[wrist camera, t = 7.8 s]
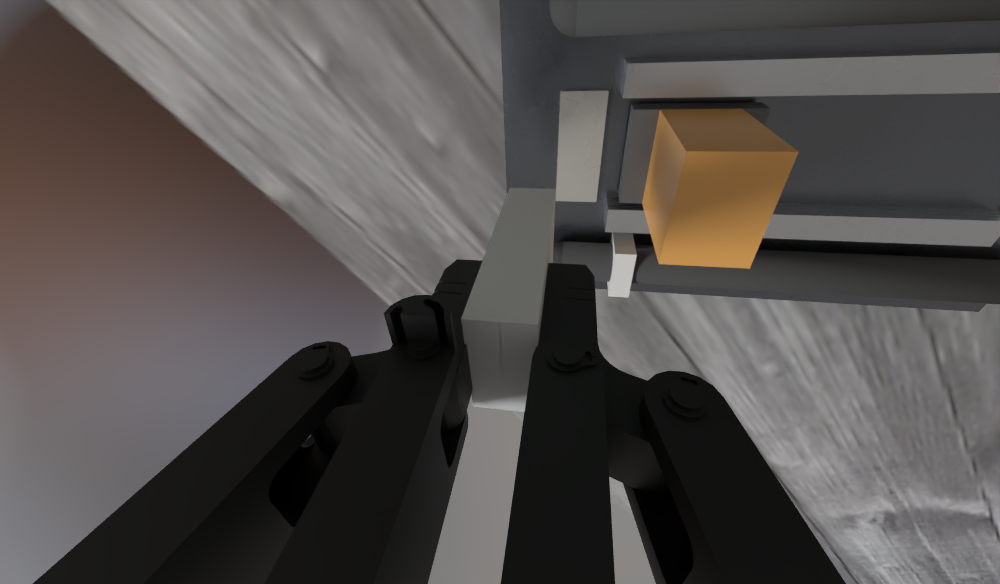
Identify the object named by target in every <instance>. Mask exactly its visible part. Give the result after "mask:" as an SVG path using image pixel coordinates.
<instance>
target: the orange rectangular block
mask: <svg viewBox="0 0 1000 584" xmlns="http://www.w3.org/2000/svg"><path fill="white" fill-rule="evenodd" d="M770 110H771V108H770V107H768V106H767V105H765V104H763V103H762V102H740V103H661V104H631V109H630V115H629V122H628V129H627V136H626V143H625V149H624V156H623V163H622V170H621V177H620V184H619V190H618V197H619V203H641V204H642V205H643V209H644V212H645V216H646V220H647V223H648V227H649V230H650V234H651V238H652V241H653V245H654V249H655V252H656V256H657V260H658V263H659V264H666V265H686V266H706V267H726V268H746V269H750V267H751V265H752V262H753V260H754V257H755V255H756V253H757V250H758V248H759V245H760V243H761V241H762V238H763V236H764V234H765V231H766V229H767V226H768V224H769V222H770V219H771V217H772V214H773V212H774V210H775V207H776V205H777V203H778V200H779V198H780V195H781V193H782V191H783V188H784V186H785V183H786V181H787V179H788V176H789V174H790V172H791V169H792V167H793V164H794V162H795V160H796V157H797V155H798V153H799V152H798V151H797V150H796V149H794V148H793V147H792V146H790V145H789V144H788V143H786V142H785V141H784V140H782V139H781V138H780V137H779V136H777V135H776V134H775V133H773V132H772V131H771V130H769V129H768V128H767V127H766V126H765V124H766V121H767V118H768V115H769V112H770Z"/></svg>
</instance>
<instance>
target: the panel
mask: <svg viewBox="0 0 1000 584" xmlns="http://www.w3.org/2000/svg"><path fill="white" fill-rule="evenodd" d="M500 22H501V48H502V74H503V100H504V126H505V152H506V178H507V194H508V191H509V188H540V189H556V197H555V220H554V243H556V242H561V241H567V242H591V243H611V237H612V232H617V233H633V238H634V243H635V244H638V245H653V241H652V238H651V234H650V230H649V227H648V223H647V220H646V216H645V212H644V209H643V205H642V204H641V203H619V197H618V190H619V184H620V177H621V170H622V163H623V156H624V149H625V143H626V136H627V129H628V122H629V115H630V109H631V104H661V103H740V102H762V103H763V104H765V105H767V106H768V107H770V108H771V110H770V112H769V115H768V118H767V121H766V124H765V126H766V127H767V128H768V129H769V130H771V131H772V132H773V133H775V134H776V135H777V136H779V137H780V138H781V139H782V140H784V141H785V142H786V143H788V144H789V145H790V146H792V147H793V148H794V149H796V150H797V151H798V152H799V153H798V155H797V157H796V160H795V162H794V164H793V167H792V169H791V172H790V174H789V176H788V179H787V181H786V183H785V186H784V188H783V191H782V193H781V195H780V198H779V200H778V203H777V205H776V207H775V210H774V212H773V214H772V217H771V219H770V222H769V224H768V226H767V229H766V231H765V234H764V236H763V238H762V241H761V243H760V245H759V248H758V250H779V251H803V252H826V253H850V254H874V255H897V256H921V257H944V258H968V259H991V260H1000V20H989V21H964V22H939V23H914V24H888V25H863V26H838V27H813V28H788V29H763V30H738V31H713V32H688V33H663V34H638V35H612V36H587V37H570V36H567V35H565V34H563V33H561V32H560V31H559V30H558V29H557V28H556V26H555V25H554V23H553V21H552V19H551V15H550V0H500ZM554 243H553V244H554ZM595 288H596V289H608V285H607V282H605V281H595ZM630 291H645V292H662V293H678V294H695V295H711V296H728V297H744V298H761V299H777V300H794V301H810V302H827V303H843V304H860V305H876V306H893V307H909V308H926V309H942V310H959V311H975V312H979V311H980V310H981V309H982V308H983V307H984V306H985V304H986V303H970V302H952V301H935V300H918V299H900V298H883V297H866V296H848V295H831V294H814V293H796V292H779V291H762V290H744V289H727V288H710V287H692V286H675V285H658V284H640V283H631V287H630Z"/></svg>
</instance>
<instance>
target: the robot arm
mask: <svg viewBox="0 0 1000 584" xmlns="http://www.w3.org/2000/svg"><path fill="white" fill-rule="evenodd" d="M555 197H556V189H540V188H509V191H508V194H507V196H506V199H505V202H504V205H503V207H502V210H501V213H500V215H499V218H498V221H497V223H496V226H495V229H494V232H493V234H492V237H491V240H490V242H489V245H488V248H487V250H486V253H485V256H484V259H483V261H477V260H458V259H457V260H456V261H455V262H454V263H452V264H451V265H450V266H449V267H447V268H446V269H445V271H444V273H443V275H442V277H441V279H440V281H439V283H438V285H437V287H436V289H435V292H434V293H433V295H432V296H431V295H415V296H411V297H408V298H404V299H401V300H400V301H398V302H396V303H395V304H393V305H391V306H390V307H389V309H387V311H386V312H385V313H384V316H385V319H386V323H387V326H388V330H389V333H390V336H391V340H392V343H393V345H392V347H391V349H389V350H386V351H382V352H378V353H372V354H365V355H360V356H353V357H351V354H350V352H349V350H348V348H347V347H346V346H344V345H342V344H341V343H337V342H329V341H327V342H321V343H315V344H313V345H310V346H308V347H305V348H303V349H301V350H300V351H299V352H297V353H296V354H294V355H292V356H291V357H290V358H289V359H288V360H286V361H285V362H284V363H283V364H282V365H281V366H280V367H279V368H277V369H276V370H275V371H274V372H273V373H272V374H271V375H269V376H268V377H267V378H266V379H265V380H264V381H263V382H262V383H260V384H259V385H258V386H257V387H256V388H255V389H253V391H251V392H250V393H249V394H248V395H247V396H246V397H244V398H243V399H242V400H241V401H240V402H239V403H238V404H236V405H235V406H234V407H233V408H232V409H231V410H230V411H228V412H227V413H226V414H225V415H224V416H223V417H222V418H221V419H219V420H218V421H217V422H216V423H215V424H214V425H213V426H211V428H209V429H208V430H207V431H206V432H205V433H203V435H201V436H200V437H199V438H198V439H197V440H196V441H194V442H193V443H192V444H191V445H190V446H189V447H188V448H187V449H186V450H184V451H183V452H182V453H181V454H180V455H179V456H177V457H176V458H175V459H174V460H173V461H172V462H171V463H170V464H168V465H167V466H166V467H165V468H164V469H163V470H162V471H160V472H159V473H158V474H157V475H156V476H155V477H154V478H152V479H151V480H150V481H149V482H148V483H147V484H146V485H145V486H143V487H142V488H141V489H140V490H139V491H138V492H136V493H135V494H134V495H133V496H132V497H131V498H130V499H128V500H127V501H126V502H125V503H124V504H123V505H122V506H121V507H119V508H118V509H117V510H116V511H115V512H114V513H113V514H111V515H110V516H109V517H108V518H107V519H106V520H105V521H103V522H102V523H101V524H100V525H99V526H98V527H97V528H96V529H94V531H92V532H91V533H90V534H89V535H88V536H87V537H85V538H84V539H83V540H82V541H81V542H80V543H78V544H77V545H76V546H75V547H74V548H73V549H72V550H71V551H70V552H68V553H67V554H66V555H65V556H64V557H63V558H62V559H60V560H59V561H58V562H57V563H56V564H55V565H54V566H52V567H51V568H50V569H49V570H48V571H47V572H46V573H45V574H43V575H42V576H41V577H40V578H39V579H38V580H36V581H35V582H34V583H33V584H428V580H429V576H430V572H431V569H432V564H433V561H434V557H435V553H436V549H437V545H438V541H439V538H440V534H441V530H442V525H443V522H444V518H445V514H446V510H447V506H448V502H449V499H450V495H451V491H452V487H453V483H454V479H455V476H456V472H457V468H458V464H459V460H460V456H461V452H462V448H463V445H464V440H465V437H466V433H467V429H468V414H467V408H468V404H469V400H470V397H471V394H472V401H473V406H476V407H485V408H494V409H502V410H511V411H520V412H525V413H524V420H523V427H522V435H521V442H520V449H519V456H518V463H517V470H516V478H515V485H514V493H513V499H512V507H511V514H510V522H509V528H508V536H507V543H506V550H505V557H504V564H503V571H502V579H501V584H615V575H614V559H613V558H614V557H613V539H612V523H611V503H610V485H609V477H612V478H614V479H616V480H618V481H620V482H622V483H623V485H624V488H625V491H626V494H627V497H628V500H629V503H630V506H631V509H632V512H633V515H634V518H635V521H636V524H637V527H638V530H639V533H640V536H641V539H642V542H643V546H644V549H645V552H646V555H647V558H648V561H649V564H650V567H651V570H652V573H653V576H654V579H655V582H656V584H846V583H845V582H844V580H843V579H842V577H841V576H840V574H839V573H838V571H837V569H836V568H835V566H834V565H833V563H832V562H831V560H830V559H829V557H828V556H827V554H826V553H825V551H824V550H823V548H822V547H821V545H820V544H819V542H818V540H817V539H816V537H815V536H814V534H813V533H812V531H811V530H810V528H809V527H808V525H807V524H806V522H805V521H804V519H803V518H802V516H801V515H800V513H799V512H798V510H797V508H796V507H795V505H794V504H793V502H792V501H791V499H790V498H789V496H788V495H787V493H786V492H785V490H784V489H783V487H782V486H781V484H780V483H779V481H778V479H777V478H776V476H775V475H774V473H773V472H772V470H771V469H770V467H769V466H768V464H767V463H766V461H765V460H764V458H763V457H762V455H761V454H760V452H759V451H758V449H757V447H756V446H755V444H754V443H753V441H752V440H751V438H750V437H749V435H748V434H747V432H746V431H745V429H744V428H743V426H742V425H741V423H740V422H739V420H738V418H737V417H736V415H735V414H734V412H733V411H732V409H731V408H730V406H729V405H728V403H727V402H726V400H725V399H724V397H723V396H722V395H721V394H720V393H719V392H718V391H717V390H716V388H715V387H714V386H713V385H711V384H709V383H708V382H706V381H705V380H703V379H701V378H700V377H698V376H695V375H692V374H689V373H686V372H679V371H666V372H662V373H659V374H656V375H654V376H653V377H652V378H651V379H649V380H648V381H646V380H644V379H641V378H638V377H635V376H632V375H629V374H627V373H625V372H622V371H620V370H618V369H617V368H615V367H614V366H612V365H611V364H610V363H609V362H608V361H607V360H606V359H605V358H604V357H603V355H602V354H601V352H600V350H599V346H598V339H597V318H596V303H595V301H596V297H595V277H594V275H593V274H592V272H591V271H590V270H589V268H588V267H587V266H586V265H581V264H561V263H553V243H554V220H555ZM310 435H311V436H310ZM309 436H310V437H309ZM308 437H309V438H308ZM307 438H308V439H307ZM306 439H307V440H306Z"/></svg>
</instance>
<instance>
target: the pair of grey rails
mask: <svg viewBox="0 0 1000 584" xmlns="http://www.w3.org/2000/svg"><path fill="white" fill-rule="evenodd" d="M550 15H551V19H552V21H553V23H554V25H555V26H556V28H557V29H558V30H559V31H560V32H561V33H563V34H565V35H567V36H570V37H587V36H612V35H638V34H663V33H688V32H713V31H738V30H763V29H788V28H813V27H838V26H863V25H888V24H914V23H939V22H964V21H989V20H1000V0H550ZM553 263H561V264H581V265H586V266H587V267H588V268H589V270H590V271H591V272H592V274H593V275H594V277H595V281H605V282H607V285H608V296H612V297H629V292H630V287H631V283H640V284H658V285H675V286H692V287H710V288H727V289H744V290H762V291H779V292H796V293H814V294H831V295H848V296H866V297H883V298H900V299H918V300H935V301H952V302H970V303H987V304H1000V260H991V259H968V258H944V257H921V256H897V255H874V254H850V253H826V252H803V251H779V250H757V253H756V255H755V257H754V260H753V262H752V265H751V267H750V269H746V268H726V267H706V266H686V265H666V264H659V263H658V260H657V256H656V252H655V249H654V245H638V244H635V243H634V238H633V233H617V232H612V237H611V243H591V242H567V241H561V242H556V243H554V244H553Z"/></svg>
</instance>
